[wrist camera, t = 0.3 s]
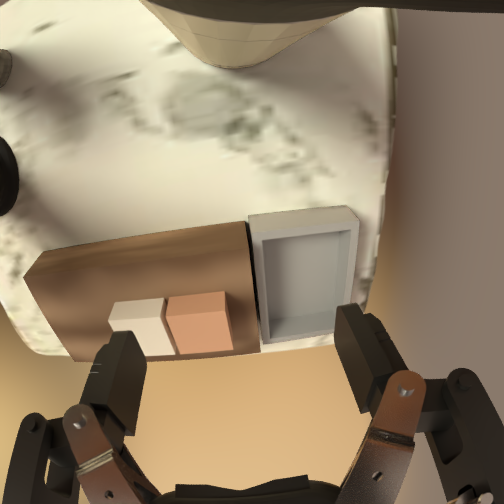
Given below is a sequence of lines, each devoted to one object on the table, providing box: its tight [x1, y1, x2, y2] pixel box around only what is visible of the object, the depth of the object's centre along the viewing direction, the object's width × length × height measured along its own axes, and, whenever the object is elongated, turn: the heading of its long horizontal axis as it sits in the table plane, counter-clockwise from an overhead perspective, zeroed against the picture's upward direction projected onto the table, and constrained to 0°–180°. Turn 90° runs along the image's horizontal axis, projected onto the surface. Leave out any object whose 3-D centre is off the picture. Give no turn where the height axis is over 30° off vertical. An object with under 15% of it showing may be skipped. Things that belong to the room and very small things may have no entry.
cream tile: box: [108, 298, 177, 356], centre depth 26 cm, size 5×5×2 cm
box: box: [248, 205, 360, 344], centre depth 30 cm, size 14×10×4 cm
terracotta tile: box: [165, 291, 233, 354], centre depth 26 cm, size 5×5×2 cm
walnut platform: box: [23, 221, 261, 362], centre depth 29 cm, size 13×23×5 cm, turn 95°
